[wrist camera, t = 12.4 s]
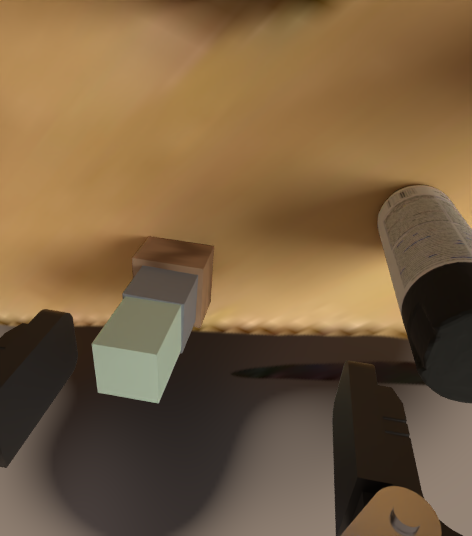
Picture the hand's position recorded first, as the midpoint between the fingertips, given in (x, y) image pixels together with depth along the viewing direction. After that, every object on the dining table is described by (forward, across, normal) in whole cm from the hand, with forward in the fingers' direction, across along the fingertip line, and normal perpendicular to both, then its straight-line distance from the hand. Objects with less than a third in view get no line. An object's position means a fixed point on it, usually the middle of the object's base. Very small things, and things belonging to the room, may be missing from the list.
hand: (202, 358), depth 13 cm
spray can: (+30, -13, +6) cm, 34 cm away
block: (+20, +9, +16) cm, 27 cm away
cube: (+25, +9, +16) cm, 31 cm away
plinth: (+30, +9, +16) cm, 35 cm away
